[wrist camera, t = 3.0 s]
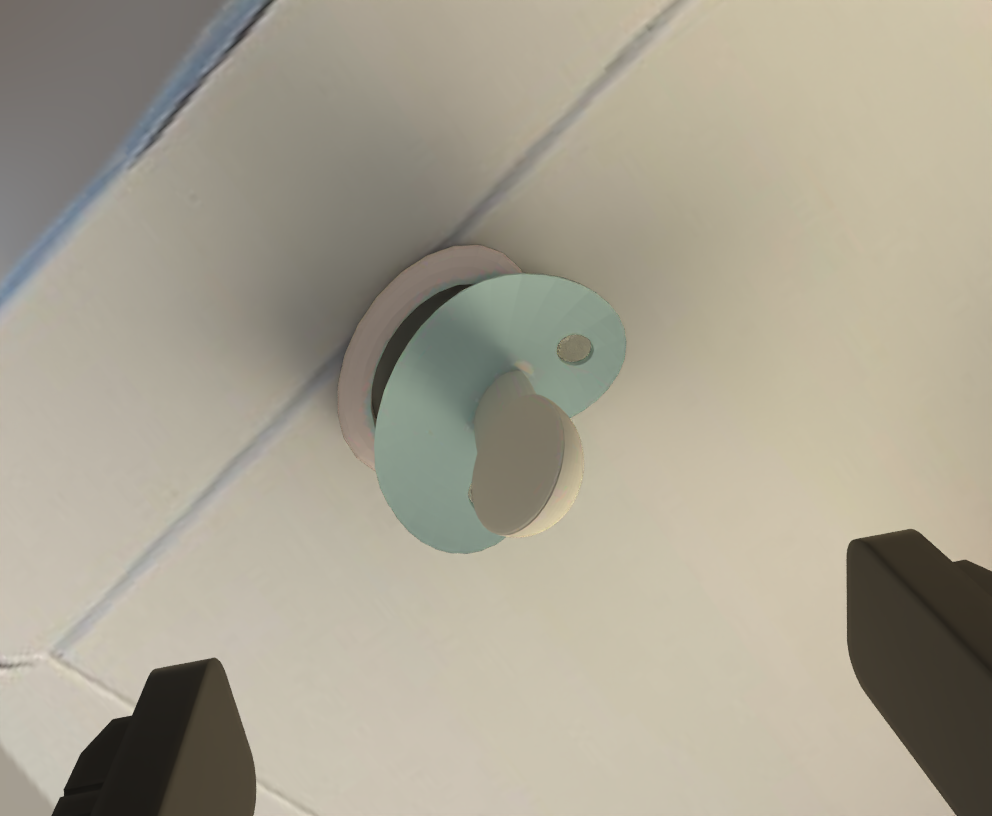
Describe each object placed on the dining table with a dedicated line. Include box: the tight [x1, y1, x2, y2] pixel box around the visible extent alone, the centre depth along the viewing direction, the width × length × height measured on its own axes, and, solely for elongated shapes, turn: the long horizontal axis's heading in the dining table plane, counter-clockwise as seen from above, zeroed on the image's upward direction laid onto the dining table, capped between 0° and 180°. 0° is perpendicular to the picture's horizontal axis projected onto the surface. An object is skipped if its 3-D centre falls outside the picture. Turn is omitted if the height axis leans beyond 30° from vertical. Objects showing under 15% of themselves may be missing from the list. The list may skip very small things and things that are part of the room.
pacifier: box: [338, 245, 626, 554], centre depth 20 cm, size 7×6×6 cm
